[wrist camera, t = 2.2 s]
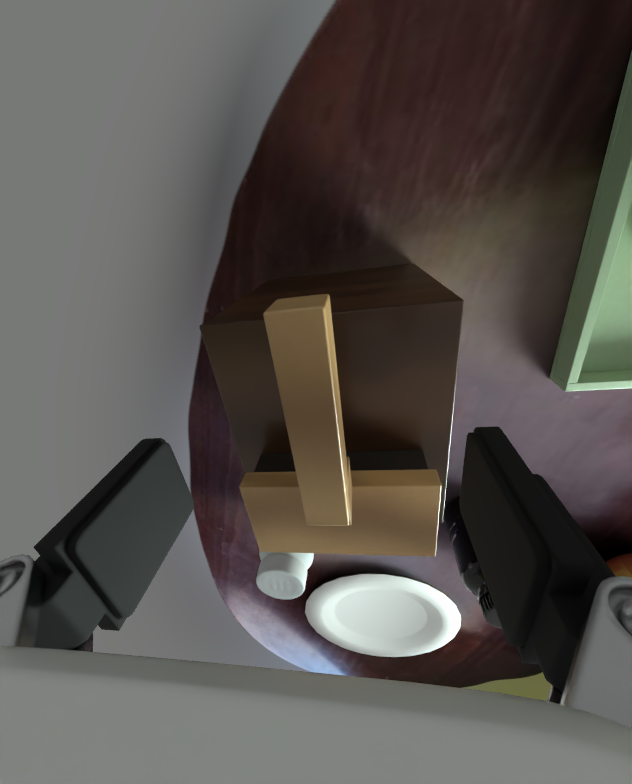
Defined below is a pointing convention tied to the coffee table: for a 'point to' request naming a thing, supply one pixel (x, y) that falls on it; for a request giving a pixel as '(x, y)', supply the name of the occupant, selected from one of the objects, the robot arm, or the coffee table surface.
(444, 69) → the coffee table surface
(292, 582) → the pill bottle
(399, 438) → the stand
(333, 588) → the plate
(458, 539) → the supplement bottle
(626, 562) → the apple
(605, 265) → the tray
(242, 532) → the coffee table surface
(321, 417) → the brush
